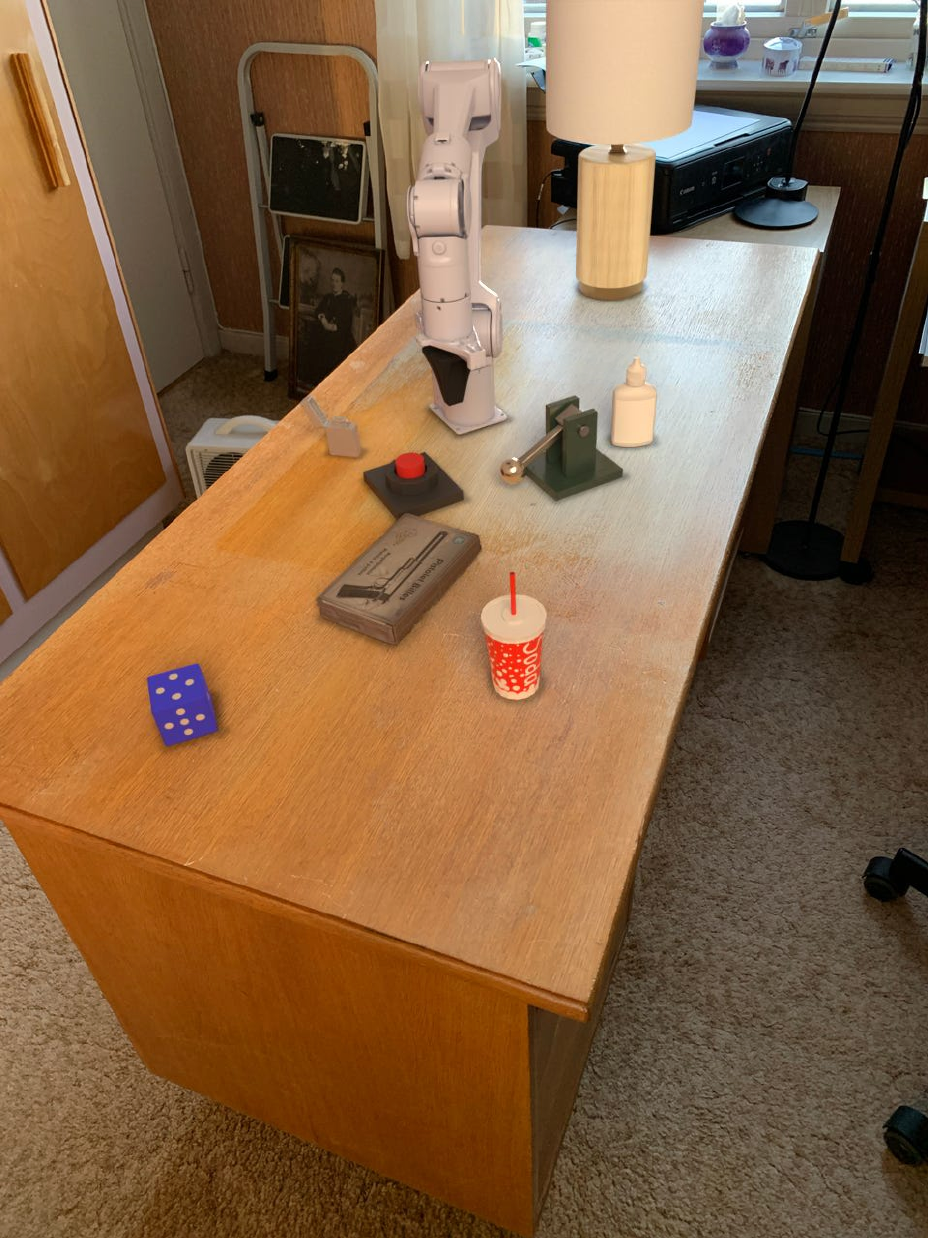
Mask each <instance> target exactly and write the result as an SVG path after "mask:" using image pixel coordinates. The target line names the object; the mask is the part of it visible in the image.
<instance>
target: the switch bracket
mask: <svg viewBox="0 0 928 1238" xmlns="http://www.w3.org/2000/svg"><path fill="white" fill-rule="evenodd" d="M580 401H581V398H580V397H579V396H577V395H575V394H574V395H572V396H569V397H566V398H563V399H559V400H556V401H552V402H550V403H546V404H545V436H546V435H547V434H548V433H549V432H550V431H551V430H553V429H554V428H555V427H556V426H557V425H558V424H557V422H556V420H555V418H556V417H557V416H558V415H559V414H560V413H561V412H563V411H564V410H565V409H566V408H567V407H568V406H570V405H571V404H572V405H574V406H575V407H576V408H578V409H579V410H580V403H581V402H580ZM598 417H599V411H598V410H596V409H595V408H594V407H593V408H590V409H586V410H584V411H581V413H578V414H575V415H572V416H569V417H566V418H563V436H562V437H561V438H560V439H558V440H557V441H556V442H555V443H554V444H553V445H551V446H550V447H549V448H548V449H547V450H545V451H544V452H543V453H542V454H541V455H540V456H538V457H537V458H536V459H535V460H534V461H533V462H531V463H530V464H529V465H528V466H527V467H526V468H525V469H526V473H525V476H527V477H528V478H530V479H531V480H532V481H533V482H534V483H535V484H536V485H537V486H538V487H539V488H541V489H542V491H544V492H545V493H546V494H547V495H549V496H550V497H551V498H552V499H553V500H554V501H555V502H557V501H561V500H563V499H566V498H569V497H571V496H574V495H577V494H579V493H582V492H585V491H588V490H590V489H593V488H596V487H598V486H601V485H604V484H606V483H609V482H613V481H615V480H618V479H620V478H623V475H624V474H623V473H624V469H623V468H622V467H621V466H620V465H618V464H617V463H616V462H615V461H613V460H612V459H611V458H609V457H608V456H607V455H606V454H604V453H603V452H602V451H601V450H600V449H598V448H597V443H598V441H597V439H598Z"/></svg>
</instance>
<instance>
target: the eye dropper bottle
mask: <svg viewBox="0 0 928 1238" xmlns="http://www.w3.org/2000/svg"><path fill="white" fill-rule="evenodd" d="M646 376H647V367H646V366H645V365H644V364H642V362H641V357H640V356H634V357H633V361H632V364H629V365H628V366H627V367H626V377H625V382H623V383H620V384H618V385H617V386H615V387H614V388H613V389H612V397H611V411H610V412H611V415H610V433H609V437H610V441H611V444H612V445H613V446H615V447H621V448H638V447H643V446H647V445H650V444H652V443H653V441H654V437H655V426H656V425H655V423H656V412H657V401H658V400H657V399H658V393H657V389H656V387H655V385H654V384H652V383H650V382H647V381H646V379H647V378H646Z"/></svg>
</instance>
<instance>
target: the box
mask: <svg viewBox="0 0 928 1238" xmlns="http://www.w3.org/2000/svg"><path fill="white" fill-rule="evenodd" d="M480 553H483V549H482V545H481V539H480V535H479V534H477V533H474V532H470V531H467V530H462V529H461V528H458V527H457V528H455V527H453V526H449V525H448V524H444V523H440V522H437V521H433V520H430V519H428V518H424V517H421V516H415V515H412V514H409V513H405V514H404V515H403V516H402V517H400V518H399V519H398V520H397V519H396V521H395V522H394V523H392V525H391V526H389V528H388V529H387V530H386V531H384V533H383V534H382V535H380V536H379V537H378V538H377V539H376V540H375V541H374V542H373V543H372V544H371V545H370V546H368V548H367V549H366V550H365V551H363V552H362V553H361V554H360V555H359V556H358V557H357V558H356V559H355V560H354V561H353V562H352V563H351V564H350V565H349V566H348V567H347V568H346V569H345V570H344V571H343V572H341V574H340V575H339V576H338V577H337V578H335V580H334V581H331V583H330V584H329V585H328V586H327V587H326V588H325V589H323V591H321V593H320V594H318V595H316V598H315V601H316V603H317V604H316V606H317V607H318V610H319V613H320V616H321V618H322V619H324V620H327V621H330V622H331V623H335V624H337V625H340V626H343V627H345V628H348V629H350V630H353V631H355V632H358V633H361V634H362V635H365V636H367V637H371V638H373V639H376V640H378V641H380V642H383V643H386V644H389V645H393V646H397V645H398V644H399V643H400V642H401V641H403V640H404V639H403V638H405V637H406V636H407V635H408V634H409V632H410V631H411V630H413V628H414V624H416V623H417V622H419V621H420V620H422V619H423V615H424V614H425V613H426V612H427V611H429V610H430V609H431V608H432V607H433V606H434V605H436V603H438V600H439V599H442V597H443V595H444V594H445V592H446V591H447V590H448V589H449V588H450V587H451V586H452V585H453V583H454V582H456V581H457V579H458V578H459V577H460V576H461V575H462V574H463V573H464V572H465V570H466V569H467V568H468V567H469V566H470V564H472V562H473V561H475V559H476V558H478V555H480Z"/></svg>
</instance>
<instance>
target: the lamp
mask: <svg viewBox="0 0 928 1238" xmlns="http://www.w3.org/2000/svg"><path fill="white" fill-rule="evenodd" d="M704 7H705V0H546V1H545V122H546V125H545V126H546V131H547V132H548V133H549V135H551V136H554V137H556V138H558V139H561V140H565V141H569V142H574V143H579V144H588V145H592V146H589V147H586V148H584V149H582V150H581V151H580V152H579V153H578V156H577V157H578V159H577V161H578V163H577V171H578V172H577V203H576V204H577V205H576V206H577V208H576V252H575V253H576V254H575V256H576V257H575V277H576V279H577V280H578V290H579V292H580V293H581V294H582V295H583V296H585V297H587V298H589V299H593V300H599V301H621V300H625V299H630V298H633V297H635V296H637V295H638V294H640V292H642V290H643V286H644V280H645V279H646V278H647V276H648V266H649V265H648V263H649V252H650V251H649V250H650V238H651V237H650V236H651V224H652V212H653V211H652V210H653V197H654V184H655V183H654V182H655V172H656V171H655V169H656V158H657V157H656V156H657V154H656V151H655V150H654V149H653V148H652V147H650V146H649V145H648V146H647V145H645V144H644V143H649V142H650V143H651V142H656V141H660V140H666V139H668V138H673V137H676V136H677V135H680V134H682V133H684V132H686V131H688V130H689V129H690V128H691V127H692V124H693V117H694V109H695V100H696V91H697V90H696V89H697V82H698V69H699V61H700V52H701V51H700V50H701V39H702V28H703V18H704V17H703V16H704ZM642 143H643V144H642Z"/></svg>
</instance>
